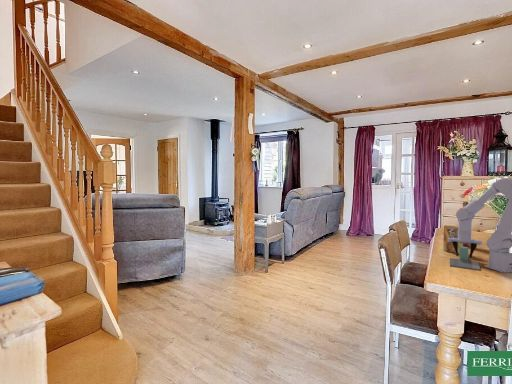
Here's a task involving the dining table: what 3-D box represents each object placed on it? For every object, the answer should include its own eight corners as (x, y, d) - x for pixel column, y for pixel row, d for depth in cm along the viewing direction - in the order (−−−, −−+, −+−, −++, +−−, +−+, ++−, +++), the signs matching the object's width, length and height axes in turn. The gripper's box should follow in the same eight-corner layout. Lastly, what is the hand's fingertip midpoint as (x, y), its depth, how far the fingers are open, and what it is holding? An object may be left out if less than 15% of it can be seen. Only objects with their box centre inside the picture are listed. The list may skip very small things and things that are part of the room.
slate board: (480, 270, 135) (480, 269, 135) (449, 266, 142) (449, 264, 142) (477, 262, 147) (477, 261, 147) (449, 258, 154) (449, 257, 153)
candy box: (463, 252, 165) (463, 226, 164) (459, 253, 163) (460, 227, 162) (446, 249, 172) (446, 224, 171) (442, 250, 170) (443, 225, 169)
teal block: (467, 260, 150) (468, 248, 150) (459, 259, 152) (460, 247, 152) (467, 259, 153) (467, 247, 152) (459, 258, 155) (459, 246, 154)
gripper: (481, 231, 151) (480, 256, 152) (448, 228, 159) (447, 252, 160) (482, 233, 145) (481, 260, 146) (448, 231, 153) (447, 255, 154)
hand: (463, 256), depth 152 cm, fingers open, 5 cm apart
